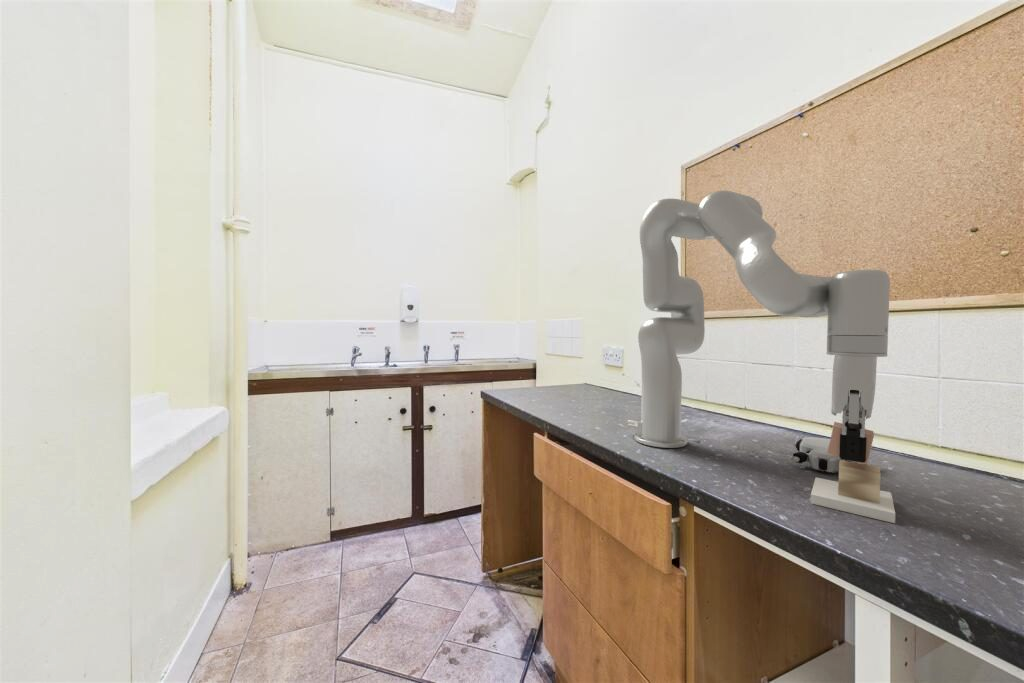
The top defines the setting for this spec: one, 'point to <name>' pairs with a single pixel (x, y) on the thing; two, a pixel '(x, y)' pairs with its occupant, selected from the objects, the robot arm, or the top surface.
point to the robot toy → (816, 454)
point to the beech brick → (859, 481)
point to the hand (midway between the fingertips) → (852, 455)
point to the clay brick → (837, 430)
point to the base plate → (852, 501)
